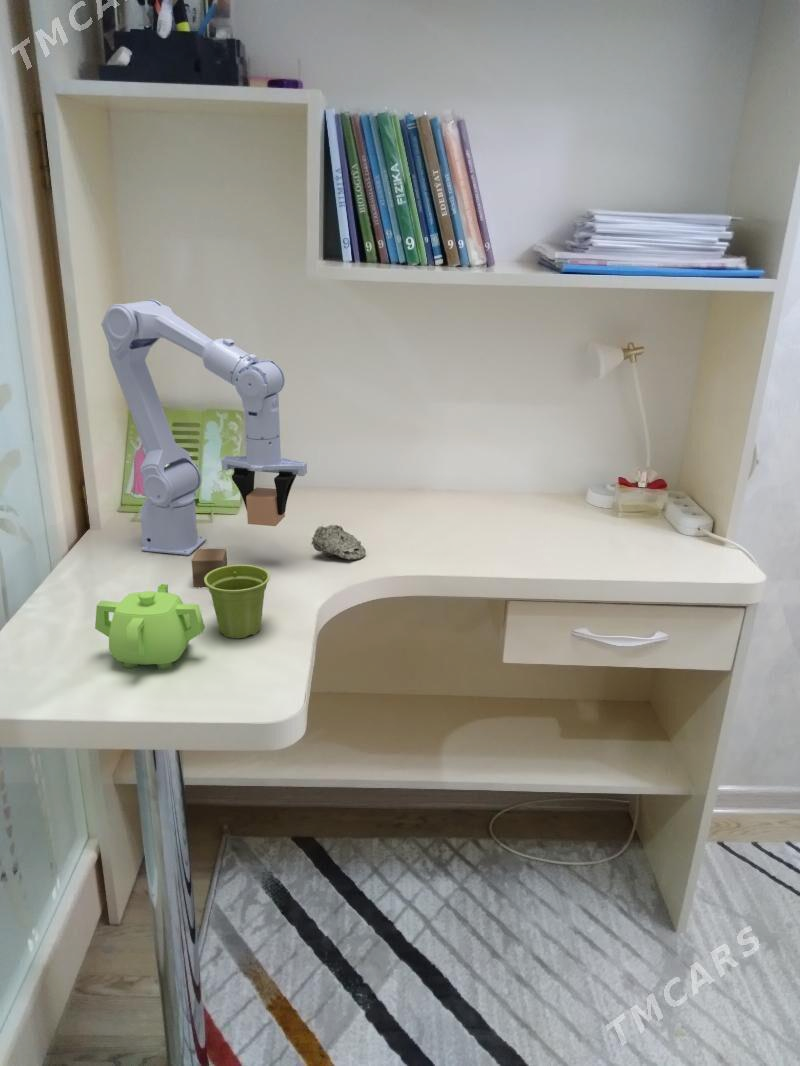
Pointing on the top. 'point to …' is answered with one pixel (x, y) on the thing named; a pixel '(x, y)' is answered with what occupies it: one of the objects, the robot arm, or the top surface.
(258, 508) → the terracotta block
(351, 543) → the rock sample
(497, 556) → the top surface
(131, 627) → the green handled lidded container
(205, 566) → the walnut block
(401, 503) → the top surface
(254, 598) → the plant pot
